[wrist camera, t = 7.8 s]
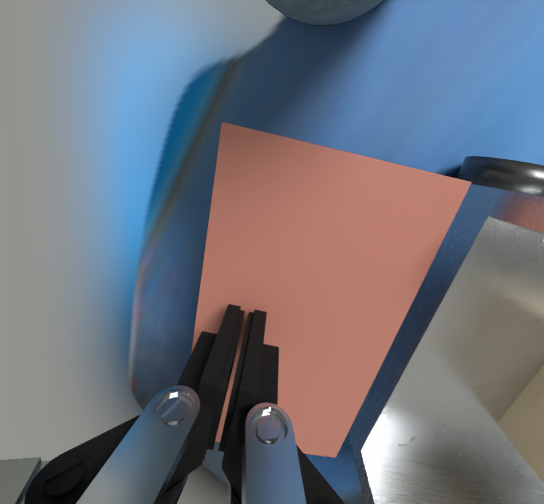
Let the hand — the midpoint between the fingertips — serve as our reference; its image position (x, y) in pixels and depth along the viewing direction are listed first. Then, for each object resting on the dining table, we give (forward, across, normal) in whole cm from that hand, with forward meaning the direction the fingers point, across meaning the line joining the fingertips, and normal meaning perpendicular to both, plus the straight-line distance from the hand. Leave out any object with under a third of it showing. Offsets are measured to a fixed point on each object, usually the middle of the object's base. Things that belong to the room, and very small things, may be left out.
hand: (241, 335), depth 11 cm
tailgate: (+1, -7, 0) cm, 7 cm away
